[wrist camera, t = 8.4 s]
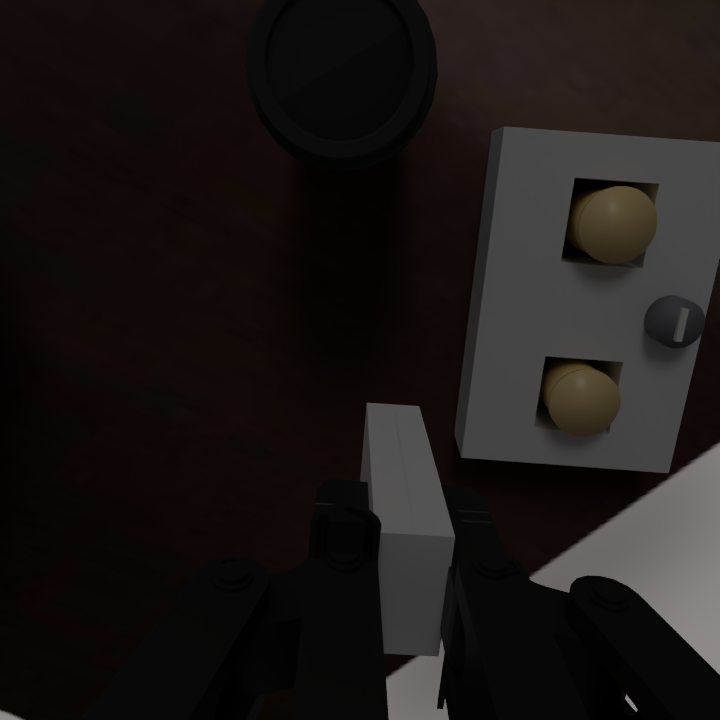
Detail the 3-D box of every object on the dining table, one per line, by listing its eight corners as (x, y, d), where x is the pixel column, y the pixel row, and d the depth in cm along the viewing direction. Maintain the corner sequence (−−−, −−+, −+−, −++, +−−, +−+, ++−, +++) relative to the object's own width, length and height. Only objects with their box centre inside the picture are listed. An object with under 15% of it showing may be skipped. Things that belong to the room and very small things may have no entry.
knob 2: (529, 410, 43) (544, 433, 40) (539, 350, 42) (555, 367, 38) (592, 415, 43) (613, 438, 40) (603, 355, 42) (626, 373, 38)
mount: (454, 433, 46) (465, 469, 40) (491, 131, 40) (510, 124, 34) (643, 448, 46) (681, 486, 40) (710, 147, 40) (765, 142, 34)
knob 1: (555, 252, 40) (574, 261, 36) (566, 182, 39) (587, 183, 35) (622, 257, 40) (648, 266, 36) (636, 187, 39) (664, 189, 35)
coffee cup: (440, 132, 40) (477, 108, 25) (327, 196, 41) (301, 207, 27) (379, 4, 38) (382, -101, 23) (262, 75, 39) (197, 17, 25)
